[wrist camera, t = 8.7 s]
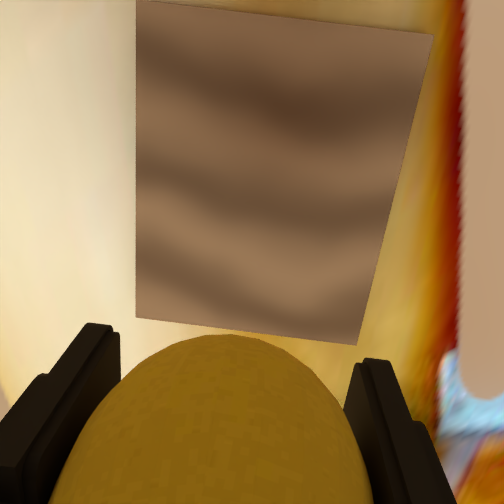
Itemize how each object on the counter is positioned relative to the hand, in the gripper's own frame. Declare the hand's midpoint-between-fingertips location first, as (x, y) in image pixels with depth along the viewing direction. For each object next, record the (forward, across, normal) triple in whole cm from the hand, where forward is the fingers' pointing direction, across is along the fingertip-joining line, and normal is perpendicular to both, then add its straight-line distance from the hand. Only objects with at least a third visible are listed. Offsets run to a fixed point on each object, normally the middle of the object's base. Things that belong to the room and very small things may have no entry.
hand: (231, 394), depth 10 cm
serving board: (+19, 0, 0) cm, 19 cm away
